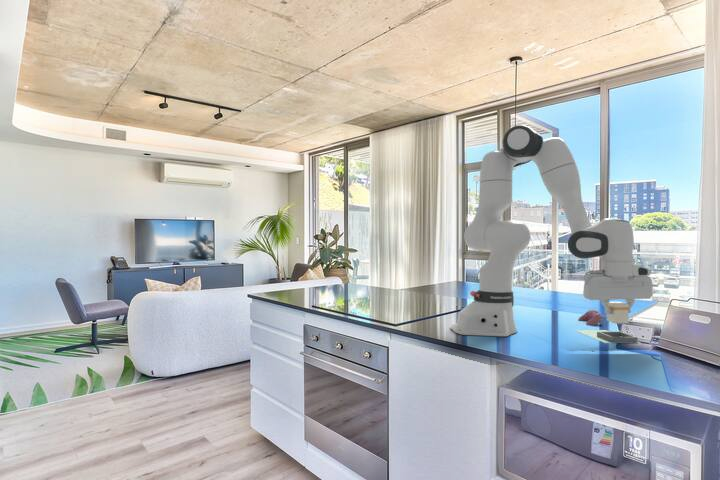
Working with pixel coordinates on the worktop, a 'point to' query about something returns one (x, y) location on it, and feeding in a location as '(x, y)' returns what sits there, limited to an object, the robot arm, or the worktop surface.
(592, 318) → the reddish-brown rounded lump
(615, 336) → the board
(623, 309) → the plug
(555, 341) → the worktop surface
